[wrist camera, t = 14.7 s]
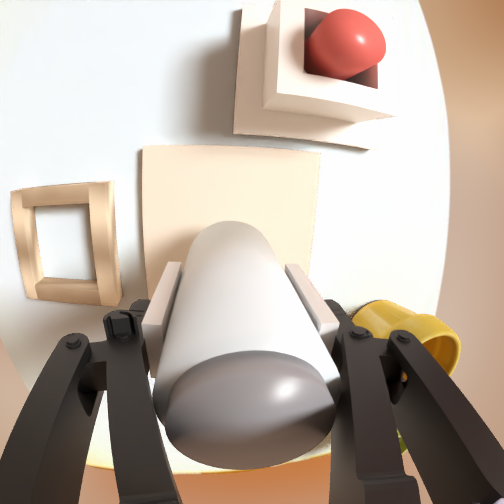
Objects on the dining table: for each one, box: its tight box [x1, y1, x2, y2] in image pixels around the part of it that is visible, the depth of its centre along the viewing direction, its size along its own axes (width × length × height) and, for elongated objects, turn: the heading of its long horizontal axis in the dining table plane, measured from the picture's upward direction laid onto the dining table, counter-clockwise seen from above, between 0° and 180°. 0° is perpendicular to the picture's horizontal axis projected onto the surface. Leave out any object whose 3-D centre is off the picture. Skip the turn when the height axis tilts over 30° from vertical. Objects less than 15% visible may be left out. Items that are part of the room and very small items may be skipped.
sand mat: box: [142, 145, 321, 300], centre depth 24 cm, size 16×14×1 cm
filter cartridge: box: [152, 220, 341, 470], centre depth 14 cm, size 6×6×14 cm
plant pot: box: [352, 300, 461, 380], centre depth 24 cm, size 10×10×10 cm
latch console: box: [233, 0, 397, 150], centre depth 17 cm, size 12×12×7 cm
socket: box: [11, 181, 123, 307], centre depth 21 cm, size 10×10×2 cm
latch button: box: [304, 9, 386, 81], centre depth 14 cm, size 4×4×5 cm
